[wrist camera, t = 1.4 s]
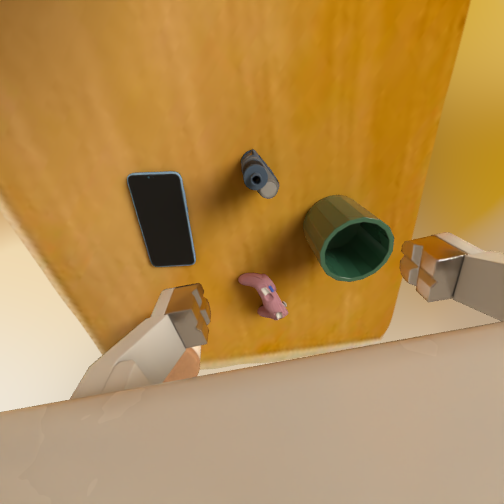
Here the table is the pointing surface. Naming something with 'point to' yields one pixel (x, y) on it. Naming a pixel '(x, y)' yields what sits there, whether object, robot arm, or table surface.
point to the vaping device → (258, 175)
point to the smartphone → (163, 217)
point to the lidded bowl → (186, 365)
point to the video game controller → (265, 295)
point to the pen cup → (347, 238)
